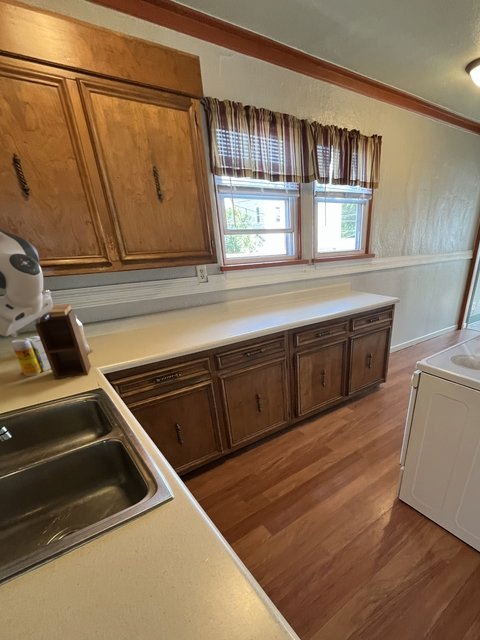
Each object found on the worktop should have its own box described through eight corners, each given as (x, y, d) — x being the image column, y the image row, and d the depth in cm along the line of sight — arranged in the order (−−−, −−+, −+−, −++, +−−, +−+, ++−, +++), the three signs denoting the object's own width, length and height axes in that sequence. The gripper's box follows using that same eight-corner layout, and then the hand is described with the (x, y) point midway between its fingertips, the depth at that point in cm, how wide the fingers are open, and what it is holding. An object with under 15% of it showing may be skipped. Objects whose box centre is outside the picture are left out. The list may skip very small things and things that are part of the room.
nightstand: (87, 375, 141) (68, 314, 130) (55, 379, 137) (32, 317, 125) (90, 366, 151) (73, 309, 139) (60, 370, 147) (39, 311, 135)
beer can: (28, 377, 139) (14, 343, 132) (21, 374, 142) (7, 341, 135) (44, 373, 143) (31, 340, 136) (37, 370, 146) (25, 337, 139)
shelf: (62, 320, 120) (60, 315, 119) (25, 324, 116) (23, 318, 115) (72, 308, 140) (70, 303, 139) (41, 310, 136) (39, 305, 135)
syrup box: (35, 370, 146) (22, 338, 140) (48, 365, 151) (36, 335, 145) (43, 372, 144) (31, 340, 138) (56, 367, 149) (45, 336, 143)
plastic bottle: (89, 351, 170) (77, 312, 161) (93, 354, 165) (81, 315, 156) (75, 354, 166) (62, 314, 157) (78, 357, 161) (65, 317, 152)
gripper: (41, 282, 113) (40, 309, 122) (-14, 309, 98) (-10, 338, 107) (59, 293, 114) (56, 319, 123) (8, 322, 99) (9, 349, 109)
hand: (25, 328), depth 115 cm, fingers open, 8 cm apart
